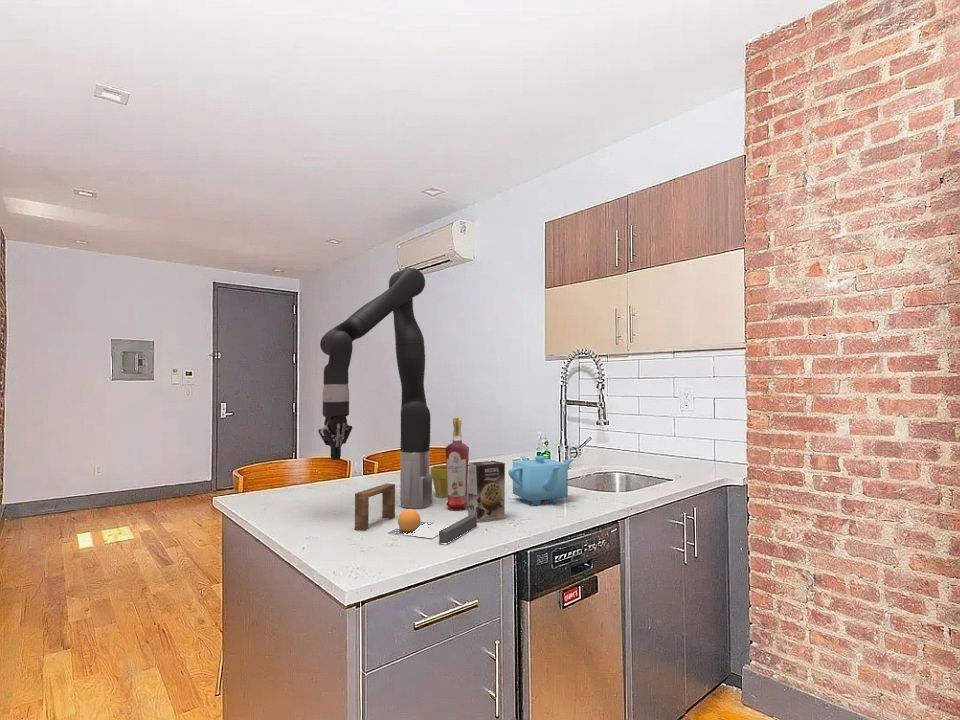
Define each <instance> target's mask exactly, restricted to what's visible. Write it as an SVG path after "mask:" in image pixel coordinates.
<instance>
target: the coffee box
mask: <svg viewBox="0 0 960 720" xmlns="http://www.w3.org/2000/svg"><path fill="white" fill-rule="evenodd" d="M468 465H469V490H468V505H467V507H468V508H467V516H469V515H477V523H482V521H483V522H489V521H498V520H505V519H506V518H505V514H506V513H505V512H506V511H505V509H506V507H505V505H506V504H505V503H506V497H505V496H506V494H505V493H506V491H505V490H506V488H505V487H506V463H505V462H501V461H496V460H491V461H489V460H488V461H487V460H486V461H476V462H475V461H474V462H468Z"/></svg>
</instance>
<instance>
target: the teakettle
mask: <svg viewBox="0 0 960 720" xmlns="http://www.w3.org/2000/svg"><path fill="white" fill-rule="evenodd" d="M545 457H546V456H545V455H544V456H543V455H535V456H534V459H528V458H527V457H526V456H520V458H521V460H515V461H512V467H511V468H510V469H509V470H508V475H509V478H510V479H511V480H512V495H516V496H517V497H520V501H521V502H531V503H530V505H531V506H541V501H546V500H549V503H551V504H560V501H559V499H562V498H568V497H569V496H568V494H569V492H568V491H569V490H568V489H569V486H568V484H569V482H568V480H569V479H568V475H569V474H568V473H569V472H568V471H569V466H570V464H571V463H572V462H573V461H574V460H575V458H570V459H566V460H565V461H564V462H562V461H558V460H554V459H550V458H545Z"/></svg>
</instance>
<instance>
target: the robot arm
mask: <svg viewBox="0 0 960 720" xmlns="http://www.w3.org/2000/svg"><path fill="white" fill-rule="evenodd" d="M425 286H426V278H425V276H424V274H423V273H422V271H420V270H419V269H417V268H412V267H410V268H409V267H408V268H404V269H402V270H399V271H396V272H394V273H393V274H392V275H391V276H390V278H389V281H388V289H387V290H385V291H384V292H382V293H381V294H380V295H378V296H376V297H375V298H373V299H372V300H370V301H369V302H367V303H365V304H364V305H362V306H361V307H360V308H359V309H357V310H356V311H354V312H353V313H352V314H351V315H350V316H348V318H347V319H346V320H344V321H343V322H341V323H339V324H338V325H336V326H334V327H333V328H331V329H330V330H328V331H327V332H326V333H325V334H324V335H323V336H322V337H321V339H320V343H319V346H320V349H321V351H322V352H323V354H325V355H327V356H328V357H329V358H328V363H327V364H326V365H325V366H324V368H323V388H322V417H324V418H325V419H324V423H323V425H324V426H323V427H322V428H319V429H318V434H319V436H320V438H321V439H322V441H323V443H324V445H325V446H329V447H330V459H331V460H332V461H338V460H341V456H342V446H343V444H346V443H347V441H348V439H349V436H350V434H351V432H352V430H353V426H352V425H349V423H348V420H347V419H348V418H347V417H348V416H349V415H350V389H349V388H350V386H349V367H350V363H351V360H352V359H351V358H352V355H353V342H354V341H356V340H358V339H361V338H362V337H364V336H365V335H366V334H368V333H369V332H370V331H372V329H374V328H375V327H376V326H377V325H378V324H380V322H381V321H382V320H384V319H385V318H386V317H388V316H389V314H391V313H393V315H392V316H393V325H394V326H393V328H394V336H395V337H394V339H395V344H394V345H395V354H396V355H395V356H396V364H397V369H398V375H399V380H400V385H401V386H400V387H401V403H400V404H401V405H400V407H401V409H400V465H399V466H400V468H399V469H400V479H399V481H400V482H399V484H400V489H399V491H400V493H399V494H400V496H399V497H400V499H399V501H400V504H399V505H400V507H402V508H406V509H425V508H427V507H429V506H431V505H433V479H432V475H431V474H430V468H431V466H430V463H431V462H430V459H431V458H430V456H431V455H430V451H431V449H430V447H431V412H430V409H429V407H428V404H427V399H426V393H425V370H426V351H425V350H426V349H425V339H424V335H423V333H422V330H421V328H420V325H419V324H418V322H417V320H416V318H415V317H416V316H415V313H414V301H413V300H414V299H413V298H415V297H418V296H419V295H420V294H422V292H423V291H424V289H425Z"/></svg>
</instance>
